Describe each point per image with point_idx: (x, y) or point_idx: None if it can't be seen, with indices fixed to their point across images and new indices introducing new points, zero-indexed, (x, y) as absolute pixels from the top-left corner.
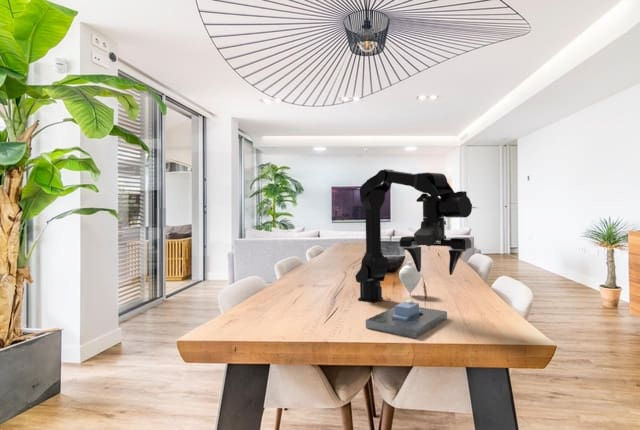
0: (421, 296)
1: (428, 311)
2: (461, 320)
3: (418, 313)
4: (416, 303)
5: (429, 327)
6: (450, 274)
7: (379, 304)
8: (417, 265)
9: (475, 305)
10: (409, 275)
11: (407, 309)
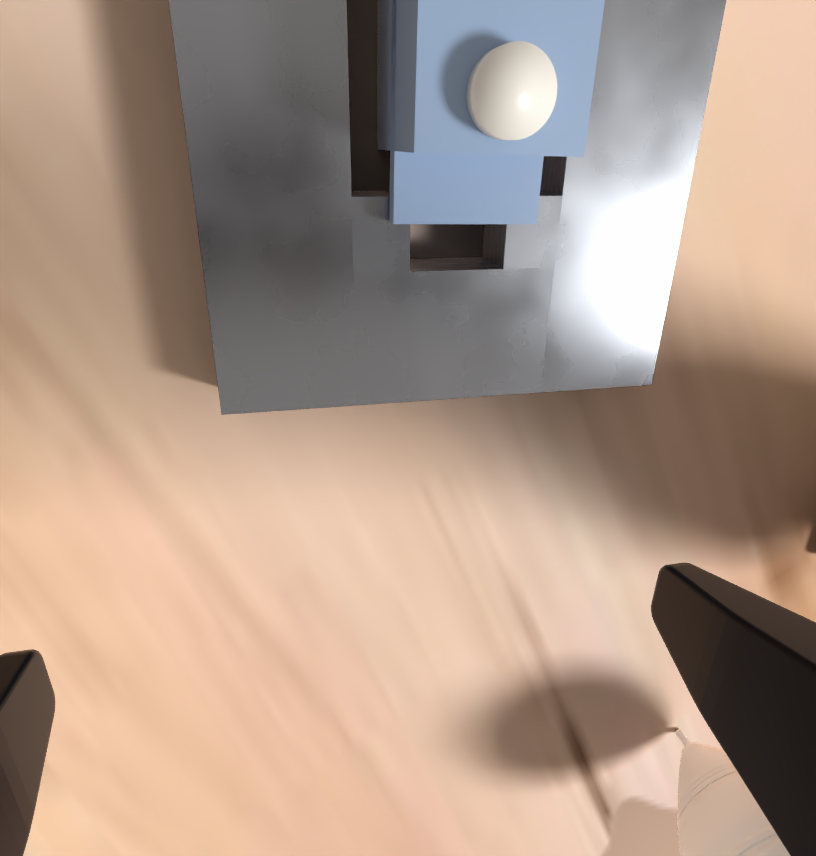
0: (606, 748)
1: (358, 309)
2: (108, 416)
3: (391, 131)
4: (435, 125)
5: None
6: (13, 653)
7: (811, 424)
8: (770, 630)
9: (230, 788)
10: (776, 842)
11: None
